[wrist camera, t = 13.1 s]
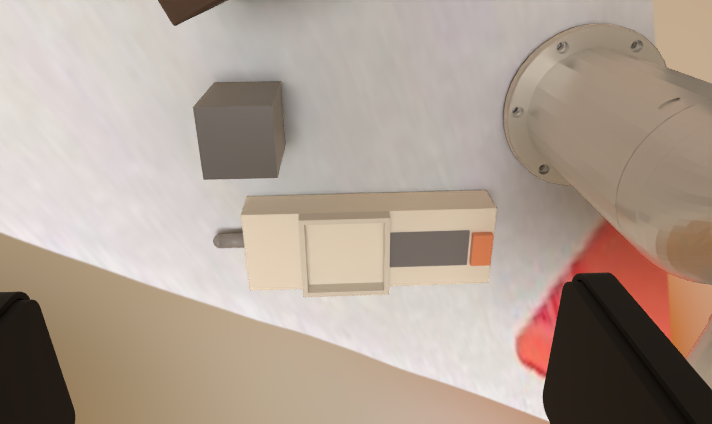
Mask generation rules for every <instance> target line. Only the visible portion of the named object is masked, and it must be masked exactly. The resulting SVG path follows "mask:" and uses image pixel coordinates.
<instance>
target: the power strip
mask: <svg viewBox="0 0 712 424" xmlns="http://www.w3.org/2000/svg"><path fill="white" fill-rule="evenodd" d="M496 212H497V207H496V206H495V204H494V203H493V201H492V200H491V198H490V196H489V195H488V193H487V192H486V190H470V191H432V192H395V193H357V194H320V195H282V196H247V198H246V201H245V204H244V207H243V210H242V213H241V221H242V230H243V233H235V234H218V235H216V236H215V237H214V239H213V243H214V245H215V246H216V247H217V248H245V255H246V263H247V272H248V280H249V289H250V290H282V289H303V297H324V296H355V295H385V294H389V286H406V285H437V284H468V283H488V280H489V272H490V263H491V255H492V246H493V238H494V229H495V220H496Z"/></svg>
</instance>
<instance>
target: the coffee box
mask: <svg viewBox="0 0 712 424" xmlns="http://www.w3.org/2000/svg"><path fill="white" fill-rule="evenodd" d="M158 1H159V3H160V4H161V6H162V8H163V9H164V11H165V12H166V14H167V16H168V18H169V19H170V21H171V22H172V24H173V25H174V26H176V25H178V24H180V23H182V22H184V21H186V20H188V19H190V18H192V17H194V16H196V15H199V14H201V13H203V12H205V11H207V10H209V9H211V8H213V7H215V6H217V5H219V4H221V3H223V2H225V1H227V0H158Z"/></svg>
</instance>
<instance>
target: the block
mask: <svg viewBox="0 0 712 424" xmlns="http://www.w3.org/2000/svg"><path fill="white" fill-rule="evenodd" d="M193 110H194V117H195V124H196V130H197V137H198V144H199V151H200V158H201V165H202V172H203V179H204V180H206V179H248V178H278V174H279V170H280V165H281V161H282V157H283V152H284V148H285V132H284V117H283V103H282V89H281V81H270V82H214V84H213V85H212V86H211V87H210V88H209V89H208V90H207V92H206V93H205V94H204V95H203V96H202V97H201V99H200V100H199V101H198V102H197V103H196V104H195V106H194V107H193Z"/></svg>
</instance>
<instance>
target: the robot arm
mask: <svg viewBox="0 0 712 424" xmlns="http://www.w3.org/2000/svg"><path fill="white" fill-rule="evenodd" d="M633 42H634V45H633V46H632V47H631V45H632V43H633ZM559 43H561V47H560V48H559V49H557V46H558V44H559ZM515 107H517V111H515V112H512V111H513V109H514V108H515ZM504 129H505V134H506V138H507V142H508V144H509V146H510V148H511V150H512V152H513V154H514V155H515V156H516V157H517V159H518V160H519V161H520V163H521V164H522V165H523V166H524V167H525V168H526V169H527V170H528V171H529V172H531V173H532V174H534V175H535V176H537V177H539V178H541V179H543V180H546V181H549V182H551V183H555V184H562V185H572V186H573V187H574V188H575V189H576V190H577V191H578V192H579V193H580V194H581V195H582V196H583V197H584V198H585V199H586V200H587V201H588V202H589V203H590V204H591V205H592V206H593V207H594V208H595V209H596V210H597V211H598V212H599V213H600V214H601V215H602V216H603V217H604V218H605V219H606V220H607V221H608V222H609V223H610V224H611V225H612V226H613V227H614V228H615V229H616V230H617V231H618V232H619V233H620V234H621V235H622V236H623V237H624V238H625V239H626V240H627V241H628V242H629V243H630V244H631V245H632V246H633V247H634V248H636V249H637V250H638V251H639V252H640V253H641V254H642V255H643V256H644V257H645V258H646V259H647V260H649V261H650V262H651V263H652V264H654V265H655V266H657V267H658V268H660V269H662V270H663V271H665V272H667V273H669V274H671V275H674V276H677V277H679V278H683V279H685V280H689V281H692V282H697V283H703V284H711V285H712V84H711V83H708V82H706V81H703V80H700V79H697V78H694V77H692V76H689V75H686V74H683V73H680V72H678V71H675V70H672V69H669V68H667V67H666V64H665V61H664V59H663V58H662V56H661V54H660V53H659V51H658V49H657V48H656V47H655V46H654V45H653V44H652V43H651V42H650V41H649V40H648V39H647V38H645V37H644V36H642V35H640V34H639V33H637V32H635V31H633V30H630V29H627V28H624V27H621V26H616V25H611V24H587V25H583V26H578V27H574V28H571V29H569V30H567V31H564V32H562V33H559V34H557V35H556V36H554V37H553V38H551V39H549V40H548V41H546V42H545V43H543V44H542V45H541V46H540V47H539V48H538V49H537V50H535V51H534V52H533V53H532V54H531V55H530V56H529V57H528V59H527V60H526V61H525V62H524V64H523V65H522V66H521V67H520V69H519V70H518V72H517V74H516V76H515V77H514V79H513V81H512V83H511V86H510V88H509V91H508V94H507V97H506V101H505V108H504ZM541 165H543V166H542V167H541V168H539V167H540V166H541ZM543 404H544V409H545V412H546V415H547V417H548V419H549V421H550V424H712V314H711V316H710V318H709V321H708V324H707V325H706V327H705V328H704V330H703V332H702V333H701V335H700V336H699V338H698V340H697V341H696V343H695V344H694V346H693V347H692V349H691V350H690V352H689V353H688V355H687V357H686V358H684V357H683V355H682V354H681V353H680V352H679V351H678V350H677V348H676V347H675V346H674V345H673V344H672V343H671V341H670V340H669V339H668V338H667V337H666V336H665V334H664V333H663V332H662V331H661V330H660V329H659V327H658V326H657V325H656V324H655V323H654V322H653V320H652V319H651V318H650V317H649V316H648V315H647V313H646V312H645V311H644V310H643V309H642V308H641V307H640V305H639V304H638V303H637V302H636V301H635V300H634V298H633V297H632V296H631V295H630V294H629V293H628V291H627V290H626V289H625V288H624V287H623V286H622V284H621V283H620V282H619V281H618V280H617V279H616V277H615V276H614V275H612V274H611V273H580V274H576V275H575V276H574V278H573V280H572V282H566V283H565V284H564V286H563V290H562V295H561V300H560V305H559V311H558V316H557V321H556V326H555V332H554V337H553V342H552V347H551V353H550V358H549V363H548V369H547V374H546V379H545V384H544V390H543ZM0 424H75V411H74V407H73V404H72V402H71V398H70V395H69V392H68V389H67V386H66V383H65V381H64V378H63V375H62V371H61V368H60V366H59V363H58V359H57V356H56V353H55V350H54V347H53V344H52V342H51V339H50V335H49V332H48V329H47V326H46V323H45V320H44V317H43V314H42V312H41V308H40V306H39V304H38V303H37V301H35V300H30V298H29V296H28V295H27V294H26V293H23V292H0Z"/></svg>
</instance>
